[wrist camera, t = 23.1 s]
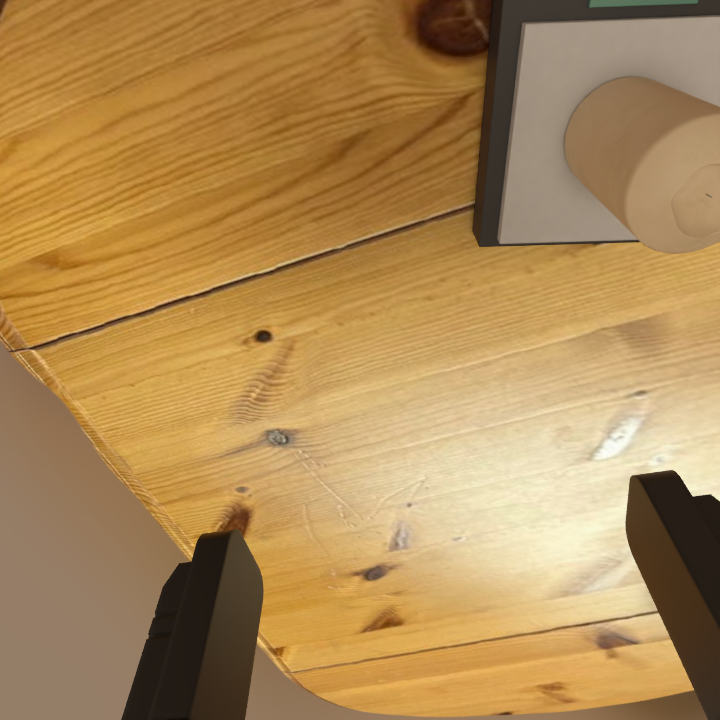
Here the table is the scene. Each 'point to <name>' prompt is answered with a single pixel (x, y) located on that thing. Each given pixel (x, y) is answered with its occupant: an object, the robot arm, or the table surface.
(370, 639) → the table surface
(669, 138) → the candle
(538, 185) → the scale
